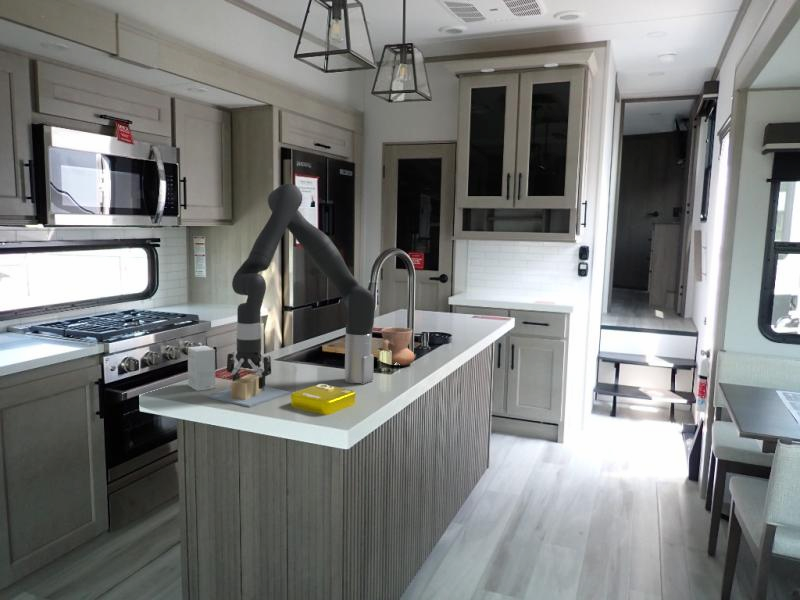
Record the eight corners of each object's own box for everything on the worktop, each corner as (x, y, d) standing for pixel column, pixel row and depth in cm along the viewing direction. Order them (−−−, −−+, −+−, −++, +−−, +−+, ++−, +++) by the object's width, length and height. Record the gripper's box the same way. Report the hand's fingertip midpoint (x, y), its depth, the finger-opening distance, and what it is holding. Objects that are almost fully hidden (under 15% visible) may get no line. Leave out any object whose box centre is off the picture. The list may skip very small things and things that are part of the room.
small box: (215, 388, 194) (215, 349, 192) (196, 391, 190) (196, 351, 188) (206, 382, 200) (206, 345, 198) (187, 385, 196) (187, 347, 194)
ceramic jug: (393, 357, 247) (393, 324, 245) (423, 362, 239) (423, 328, 237) (367, 366, 232) (367, 330, 230) (398, 371, 224) (398, 335, 222)
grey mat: (289, 393, 191) (289, 391, 191) (249, 407, 175) (249, 405, 175) (248, 384, 199) (248, 382, 199) (206, 397, 184) (206, 395, 184)
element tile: (288, 407, 178) (288, 391, 177) (320, 396, 190) (320, 381, 190) (326, 417, 170) (326, 401, 169) (357, 404, 182) (358, 389, 182)
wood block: (231, 382, 181) (250, 373, 192) (231, 398, 182) (250, 388, 193) (245, 383, 180) (264, 374, 191) (245, 399, 180) (264, 389, 192)
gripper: (275, 336, 187) (274, 386, 189) (234, 332, 190) (234, 381, 192) (263, 340, 180) (263, 392, 182) (222, 336, 183) (222, 387, 185)
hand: (248, 386), depth 187 cm, fingers open, 8 cm apart
